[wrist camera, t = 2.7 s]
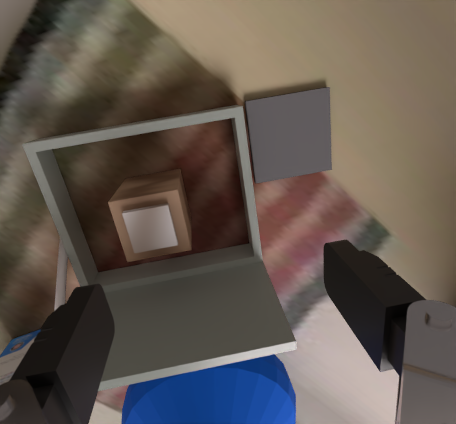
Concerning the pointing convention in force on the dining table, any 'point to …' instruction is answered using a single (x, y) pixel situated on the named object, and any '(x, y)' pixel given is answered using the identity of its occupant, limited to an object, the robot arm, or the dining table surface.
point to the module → (152, 215)
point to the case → (171, 277)
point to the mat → (290, 134)
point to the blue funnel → (216, 396)
